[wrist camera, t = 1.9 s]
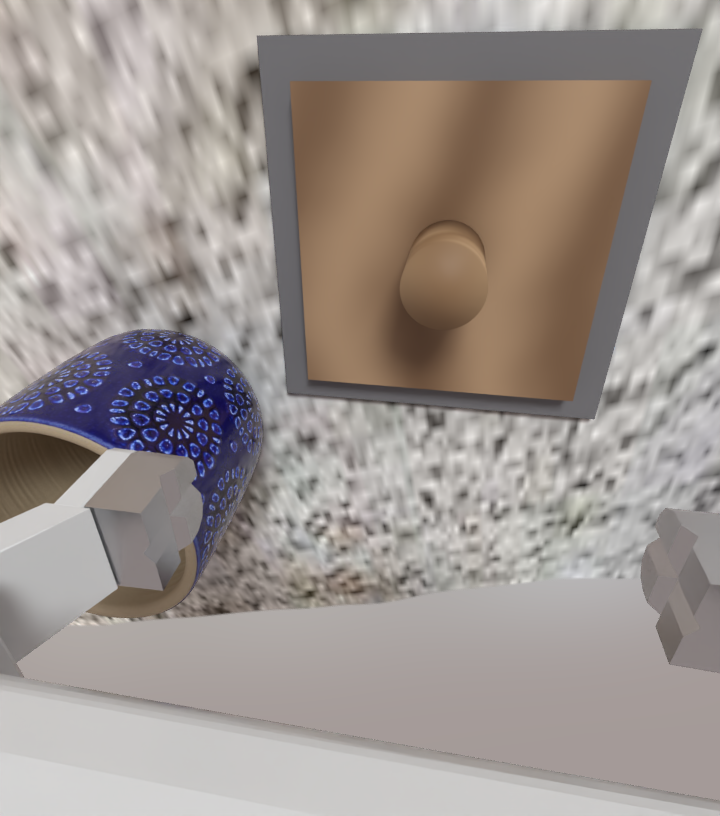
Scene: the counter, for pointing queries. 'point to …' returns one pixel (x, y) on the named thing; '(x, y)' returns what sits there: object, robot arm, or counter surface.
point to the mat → (477, 61)
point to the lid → (458, 227)
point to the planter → (136, 437)
